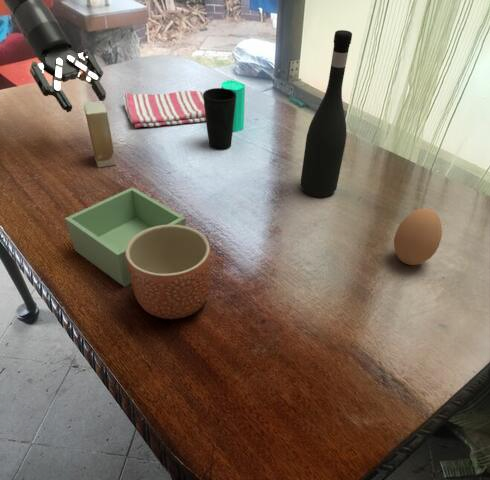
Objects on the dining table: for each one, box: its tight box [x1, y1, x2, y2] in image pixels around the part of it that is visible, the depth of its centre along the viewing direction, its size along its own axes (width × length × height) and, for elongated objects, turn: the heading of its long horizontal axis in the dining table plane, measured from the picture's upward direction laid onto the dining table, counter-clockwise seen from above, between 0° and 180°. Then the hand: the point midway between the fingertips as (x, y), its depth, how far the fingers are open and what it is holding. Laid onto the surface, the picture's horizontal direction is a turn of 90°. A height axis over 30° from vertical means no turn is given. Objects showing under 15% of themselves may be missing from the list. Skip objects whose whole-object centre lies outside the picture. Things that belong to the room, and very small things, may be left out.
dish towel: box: [122, 90, 206, 129], centre depth 124 cm, size 17×23×4 cm
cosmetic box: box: [83, 100, 117, 168], centre depth 101 cm, size 6×4×12 cm
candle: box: [221, 77, 246, 133], centre depth 116 cm, size 6×6×12 cm
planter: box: [125, 225, 212, 320], centre depth 70 cm, size 12×12×11 cm
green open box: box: [64, 186, 187, 288], centre depth 81 cm, size 15×15×7 cm
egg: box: [393, 207, 443, 266], centre depth 79 cm, size 8×8×11 cm
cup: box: [202, 87, 236, 151], centre depth 109 cm, size 8×8×12 cm
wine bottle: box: [300, 29, 353, 198], centre depth 89 cm, size 8×8×30 cm
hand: (87, 104), depth 98 cm, fingers open, 8 cm apart
